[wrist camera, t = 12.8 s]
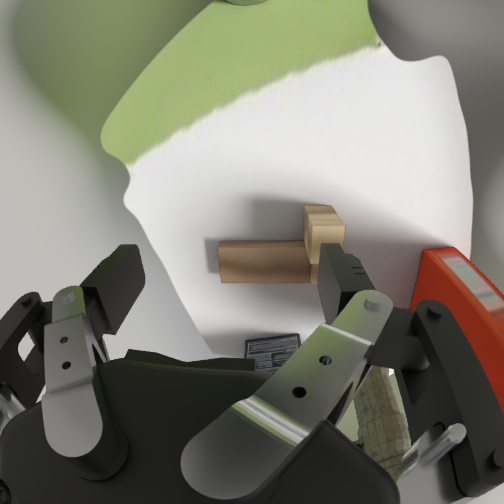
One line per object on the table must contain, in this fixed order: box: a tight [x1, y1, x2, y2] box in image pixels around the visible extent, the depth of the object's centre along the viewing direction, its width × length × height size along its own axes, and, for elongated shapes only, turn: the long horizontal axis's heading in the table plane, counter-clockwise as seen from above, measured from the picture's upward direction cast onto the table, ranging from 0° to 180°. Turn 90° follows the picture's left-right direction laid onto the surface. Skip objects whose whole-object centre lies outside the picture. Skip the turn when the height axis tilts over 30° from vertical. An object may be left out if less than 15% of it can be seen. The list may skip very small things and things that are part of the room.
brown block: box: [218, 241, 312, 283], centre depth 42 cm, size 6×17×2 cm, turn 92°
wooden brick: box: [303, 206, 345, 285], centre depth 38 cm, size 11×4×8 cm, turn 2°
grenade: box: [353, 366, 412, 482], centre depth 38 cm, size 9×12×35 cm
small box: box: [244, 334, 301, 374], centre depth 48 cm, size 11×6×10 cm, turn 102°
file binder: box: [409, 247, 504, 414], centre depth 31 cm, size 8×17×32 cm, turn 5°
